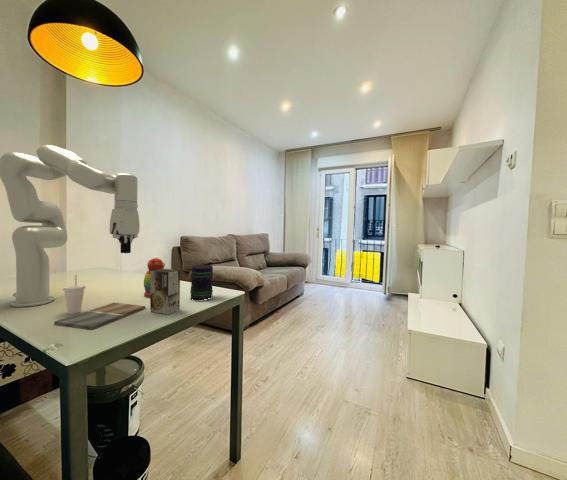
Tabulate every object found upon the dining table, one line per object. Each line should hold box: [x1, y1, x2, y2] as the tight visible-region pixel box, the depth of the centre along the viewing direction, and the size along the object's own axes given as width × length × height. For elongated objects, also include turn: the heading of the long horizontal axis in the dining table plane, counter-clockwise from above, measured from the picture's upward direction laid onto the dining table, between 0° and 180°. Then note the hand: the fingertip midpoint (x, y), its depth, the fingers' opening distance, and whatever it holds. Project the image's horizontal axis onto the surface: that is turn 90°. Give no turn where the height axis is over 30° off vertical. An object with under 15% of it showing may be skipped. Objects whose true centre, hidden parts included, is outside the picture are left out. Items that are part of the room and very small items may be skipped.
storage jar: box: [189, 264, 214, 300], centre depth 115 cm, size 10×10×15 cm
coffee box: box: [149, 268, 181, 315], centre depth 96 cm, size 9×6×16 cm
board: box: [53, 302, 146, 330], centre depth 89 cm, size 15×22×1 cm
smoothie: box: [62, 274, 86, 315], centre depth 92 cm, size 6×6×14 cm
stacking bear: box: [143, 257, 166, 299], centre depth 118 cm, size 11×10×18 cm
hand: (125, 252), depth 97 cm, fingers closed
